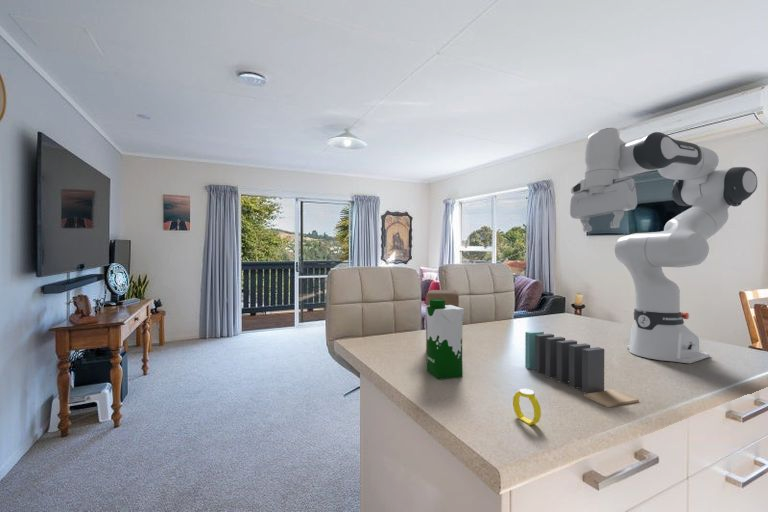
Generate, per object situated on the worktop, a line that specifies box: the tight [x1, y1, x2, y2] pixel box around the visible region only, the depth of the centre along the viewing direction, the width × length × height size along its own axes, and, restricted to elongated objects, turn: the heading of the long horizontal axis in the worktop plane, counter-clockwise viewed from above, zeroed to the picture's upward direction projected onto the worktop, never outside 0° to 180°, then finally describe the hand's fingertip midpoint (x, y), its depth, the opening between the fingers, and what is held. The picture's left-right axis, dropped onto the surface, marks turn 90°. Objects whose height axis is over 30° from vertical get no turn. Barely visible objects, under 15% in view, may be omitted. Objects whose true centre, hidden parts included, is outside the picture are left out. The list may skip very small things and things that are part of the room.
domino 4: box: [556, 339, 578, 384], centre depth 91 cm, size 2×5×10 cm, turn 109°
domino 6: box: [581, 346, 605, 394], centre depth 83 cm, size 2×5×10 cm, turn 109°
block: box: [425, 289, 460, 354], centre depth 116 cm, size 10×10×20 cm
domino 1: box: [524, 330, 545, 370], centre depth 101 cm, size 2×5×10 cm, turn 109°
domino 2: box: [534, 333, 555, 374], centre depth 98 cm, size 2×5×10 cm, turn 109°
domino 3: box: [544, 336, 566, 379], centre depth 94 cm, size 2×5×10 cm, turn 109°
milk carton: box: [425, 299, 465, 380], centre depth 96 cm, size 9×9×20 cm
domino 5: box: [568, 343, 591, 389], centre depth 87 cm, size 2×5×10 cm, turn 109°
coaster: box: [583, 388, 640, 408], centre depth 79 cm, size 9×6×1 cm, turn 109°
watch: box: [512, 388, 542, 426], centre depth 69 cm, size 6×3×6 cm, turn 22°
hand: (600, 229), depth 105 cm, fingers open, 8 cm apart
